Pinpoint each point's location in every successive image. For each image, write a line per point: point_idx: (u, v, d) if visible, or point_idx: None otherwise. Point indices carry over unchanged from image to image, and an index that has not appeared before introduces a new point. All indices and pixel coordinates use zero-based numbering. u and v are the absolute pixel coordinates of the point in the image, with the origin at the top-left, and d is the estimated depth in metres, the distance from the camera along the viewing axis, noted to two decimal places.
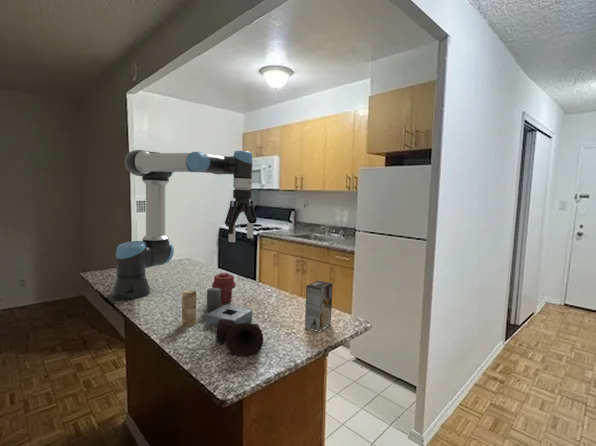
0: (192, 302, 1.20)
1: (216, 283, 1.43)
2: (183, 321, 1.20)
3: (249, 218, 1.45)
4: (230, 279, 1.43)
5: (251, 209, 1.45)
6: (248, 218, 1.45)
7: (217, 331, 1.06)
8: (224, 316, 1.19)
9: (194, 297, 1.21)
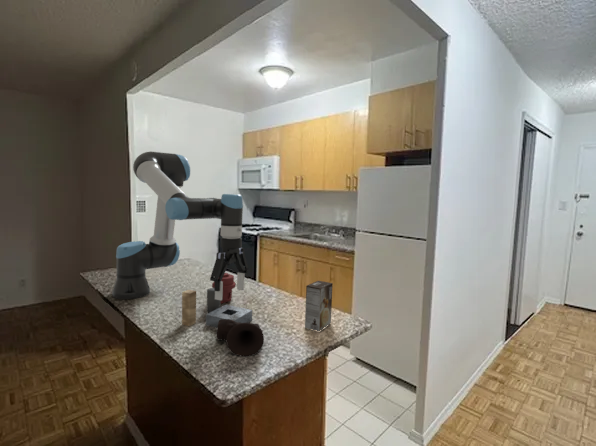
0: (192, 302, 1.20)
1: None
2: (183, 321, 1.20)
3: (239, 268, 1.27)
4: (230, 279, 1.43)
5: (242, 257, 1.27)
6: (238, 268, 1.27)
7: (218, 331, 1.06)
8: (224, 316, 1.19)
9: (194, 297, 1.21)
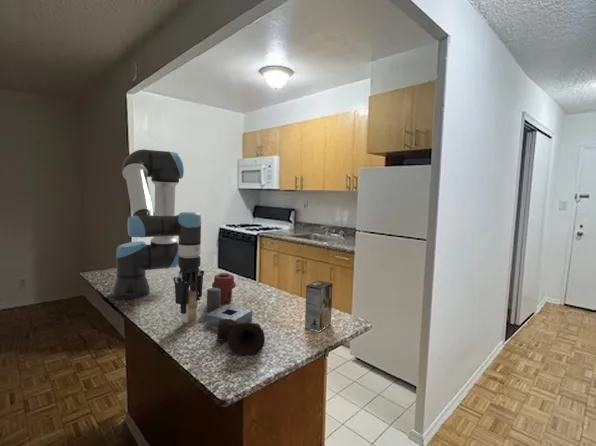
0: (192, 302, 1.20)
1: (216, 283, 1.43)
2: None
3: None
4: (230, 279, 1.43)
5: (199, 280, 1.24)
6: None
7: (218, 331, 1.06)
8: (224, 316, 1.19)
9: (194, 297, 1.21)
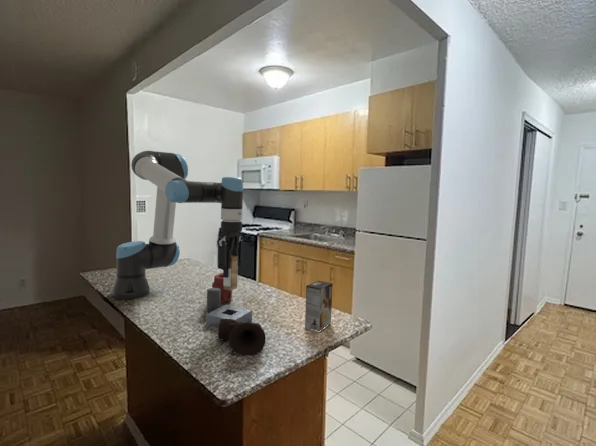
0: (234, 266, 1.21)
1: (216, 283, 1.43)
2: (225, 286, 1.21)
3: None
4: None
5: (239, 246, 1.25)
6: None
7: (219, 331, 1.07)
8: (224, 316, 1.19)
9: (236, 262, 1.22)
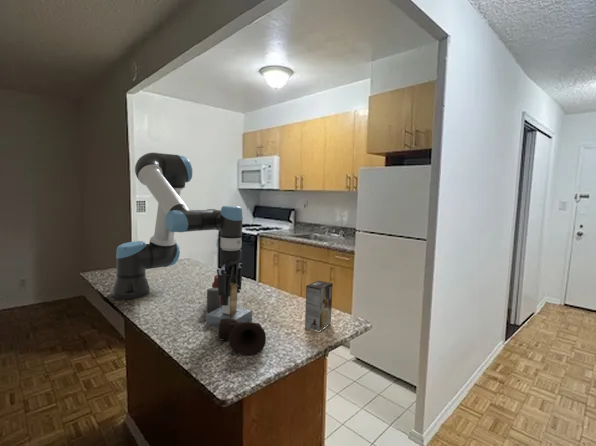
0: (234, 294, 1.22)
1: (216, 283, 1.43)
2: (224, 313, 1.22)
3: None
4: None
5: (238, 273, 1.26)
6: None
7: (219, 330, 1.07)
8: (224, 316, 1.19)
9: (235, 289, 1.23)
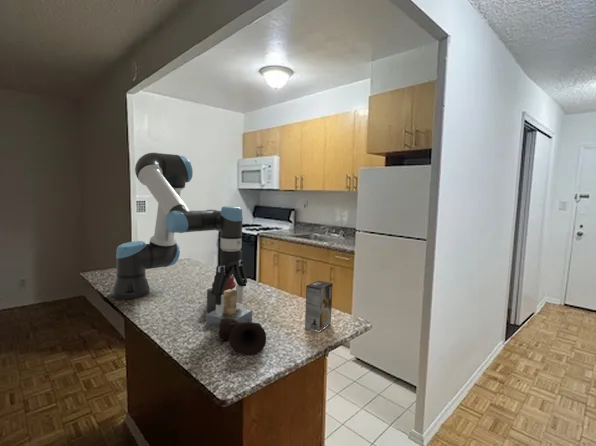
0: (233, 301, 1.22)
1: None
2: None
3: (238, 280, 1.27)
4: (230, 279, 1.43)
5: (241, 270, 1.27)
6: (237, 280, 1.27)
7: (220, 330, 1.07)
8: (224, 316, 1.19)
9: (235, 296, 1.23)
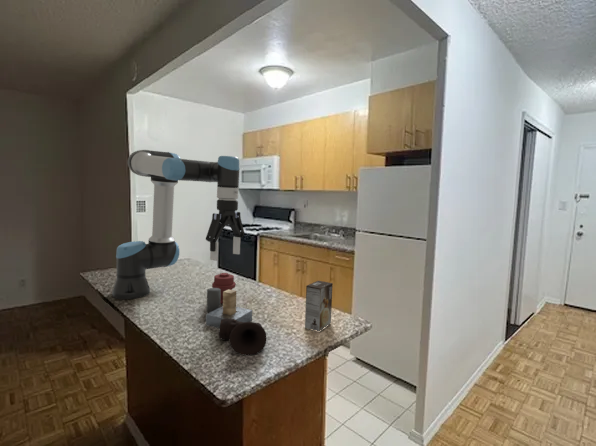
0: (233, 301, 1.22)
1: (216, 283, 1.43)
2: None
3: (235, 232, 1.28)
4: (230, 279, 1.43)
5: (238, 221, 1.28)
6: (234, 232, 1.28)
7: (220, 330, 1.07)
8: (224, 316, 1.19)
9: (234, 297, 1.23)
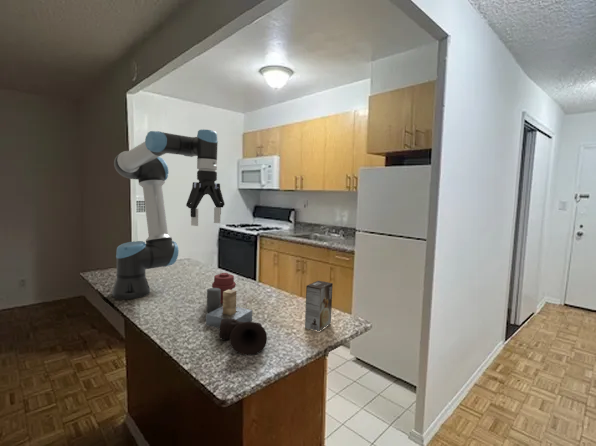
0: (233, 301, 1.22)
1: (216, 283, 1.43)
2: None
3: (216, 202, 1.38)
4: (230, 279, 1.43)
5: (218, 192, 1.38)
6: (215, 202, 1.38)
7: (220, 330, 1.07)
8: (224, 316, 1.19)
9: (234, 297, 1.23)
